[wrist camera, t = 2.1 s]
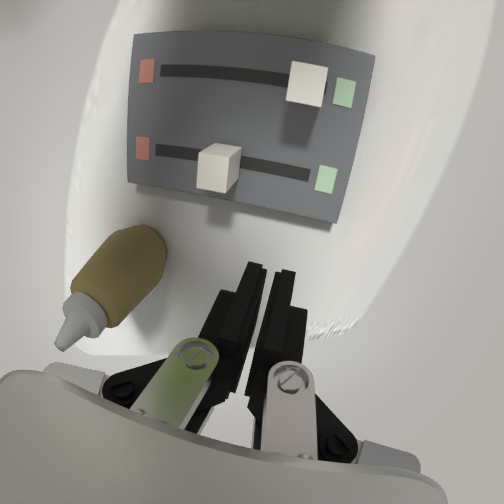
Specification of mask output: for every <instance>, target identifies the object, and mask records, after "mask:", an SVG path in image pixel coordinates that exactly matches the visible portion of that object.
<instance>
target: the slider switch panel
mask: <svg viewBox="0 0 504 504" xmlns="http://www.w3.org/2000/svg"><path fill="white" fill-rule="evenodd" d="M292 61H296V62H302V63H307V64H313V65H318V66H323V67H327V68H328V72H327V78H326V83H325V89H324V94H323V100H322V105H321V107H317V106H312V105H308V104H303V103H297V102H292V101H287V100H286V96H287V89H288V83H289V77H290V71H291V65H292ZM374 61H375V56H374V55H371V54H367V53H364V52H360V51H356V50H352V49H348V48H344V47H340V46H335V45H331V44H326V43H321V42H316V41H311V40H305V39H299V38H292V37H285V36H278V35H269V34H259V33H248V32H232V31H170V32H155V33H143V34H134V38H133V47H132V56H131V67H130V80H129V95H128V119H127V176H128V182H130V183H136V184H142V185H148V186H154V187H160V188H166V189H172V190H178V191H183V192H189V193H194V194H200V195H205V196H210V197H215V198H221V199H226V200H231V201H236V202H241V203H246V204H250V205H255V206H260V207H265V208H269V209H274V210H279V211H283V212H288V213H292V214H297V215H301V216H306V217H310V218H314V219H319V220H323V221H327V222H331V223H335V224H337V221H338V217H339V214H340V210H341V207H342V203H343V199H344V196H345V192H346V188H347V184H348V181H349V177H350V173H351V169H352V165H353V161H354V157H355V153H356V148H357V144H358V140H359V136H360V131H361V127H362V122H363V118H364V113H365V108H366V103H367V98H368V93H369V88H370V83H371V78H372V72H373V67H374ZM214 143H219V144H226V145H232V146H239V147H242V152H241V159H240V167H239V176H238V179H237V180H236V182H235V183H234V184H233V185H232V186H231V187H230V189H229V190H228V191H227V192H226V193H221V192H216V191H210V190H205V189H200V188H196V185H197V169H198V156H199V152H201V151H202V150H204V149H206V148H207V147H209V146H211V145H212V144H214Z"/></svg>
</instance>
